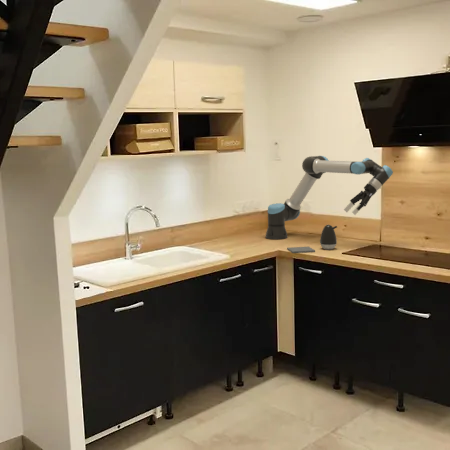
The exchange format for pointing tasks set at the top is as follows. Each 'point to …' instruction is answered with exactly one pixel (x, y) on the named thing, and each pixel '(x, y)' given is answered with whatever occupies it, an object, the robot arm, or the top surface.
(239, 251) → the top surface
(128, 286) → the top surface
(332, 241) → the pump dispenser
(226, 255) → the top surface
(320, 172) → the robot arm
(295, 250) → the charcoal mat
